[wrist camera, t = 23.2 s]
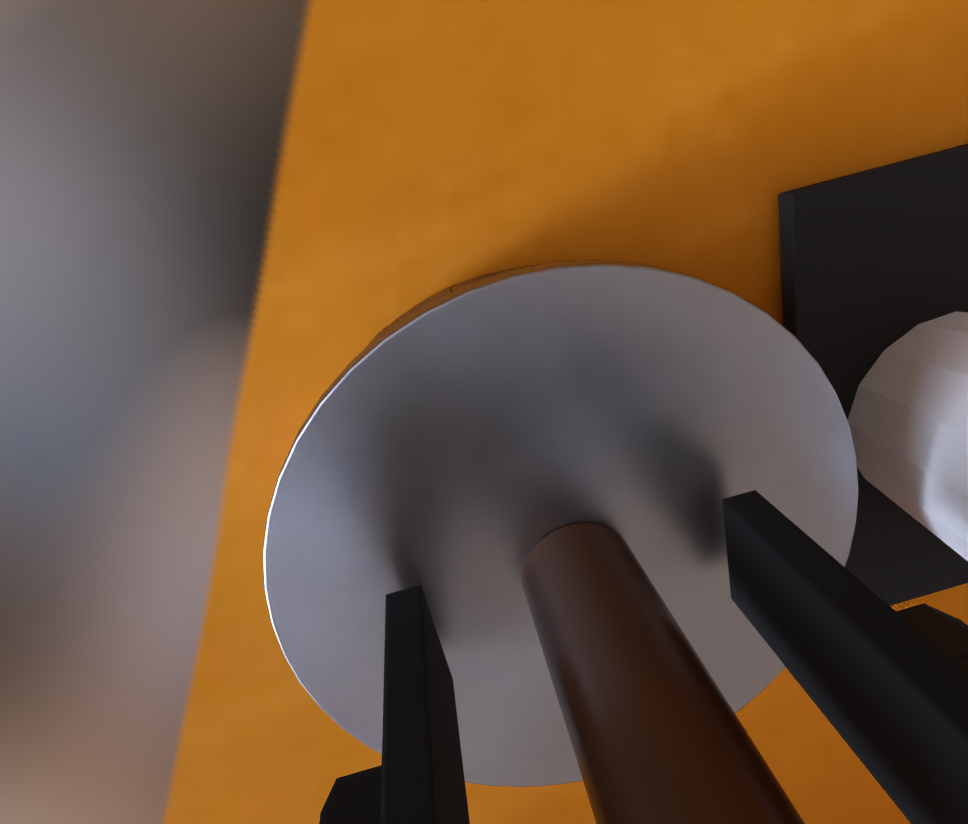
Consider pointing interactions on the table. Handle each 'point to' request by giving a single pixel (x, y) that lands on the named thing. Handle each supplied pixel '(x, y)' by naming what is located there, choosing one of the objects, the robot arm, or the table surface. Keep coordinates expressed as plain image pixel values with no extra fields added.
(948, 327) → the shot glass
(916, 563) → the mat
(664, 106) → the table surface
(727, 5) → the table surface
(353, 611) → the tin lid
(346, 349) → the table surface
